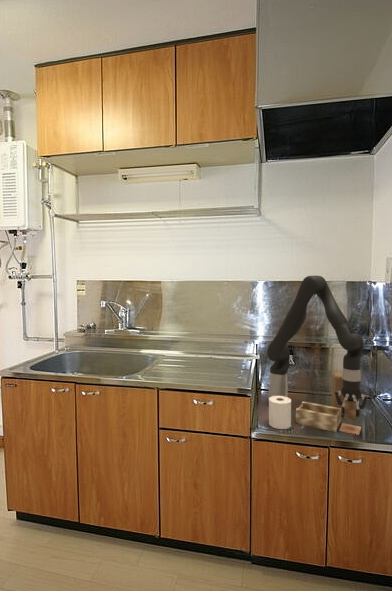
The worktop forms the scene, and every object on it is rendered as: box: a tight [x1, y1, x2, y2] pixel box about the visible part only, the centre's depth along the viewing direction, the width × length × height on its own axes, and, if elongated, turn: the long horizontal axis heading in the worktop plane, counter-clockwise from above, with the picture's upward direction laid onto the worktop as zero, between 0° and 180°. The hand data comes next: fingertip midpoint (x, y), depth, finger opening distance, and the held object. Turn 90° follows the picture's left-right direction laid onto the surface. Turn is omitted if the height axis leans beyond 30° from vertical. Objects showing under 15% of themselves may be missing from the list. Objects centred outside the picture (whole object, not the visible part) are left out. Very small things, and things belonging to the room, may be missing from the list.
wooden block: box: [330, 370, 345, 417], centre depth 175 cm, size 10×10×20 cm
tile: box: [338, 422, 362, 436], centre depth 156 cm, size 8×8×1 cm
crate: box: [295, 401, 342, 433], centre depth 163 cm, size 18×12×7 cm, turn 58°
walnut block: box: [343, 400, 357, 421], centre depth 156 cm, size 4×5×8 cm
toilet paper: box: [268, 396, 292, 430], centre depth 162 cm, size 10×10×12 cm
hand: (350, 415), depth 156 cm, fingers closed on walnut block, 4 cm apart
